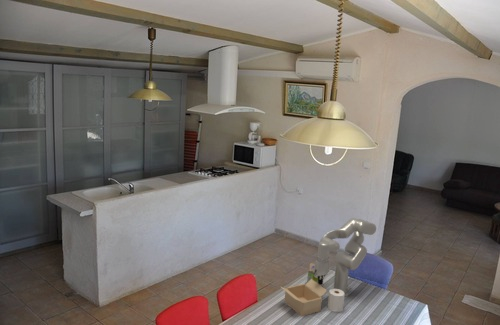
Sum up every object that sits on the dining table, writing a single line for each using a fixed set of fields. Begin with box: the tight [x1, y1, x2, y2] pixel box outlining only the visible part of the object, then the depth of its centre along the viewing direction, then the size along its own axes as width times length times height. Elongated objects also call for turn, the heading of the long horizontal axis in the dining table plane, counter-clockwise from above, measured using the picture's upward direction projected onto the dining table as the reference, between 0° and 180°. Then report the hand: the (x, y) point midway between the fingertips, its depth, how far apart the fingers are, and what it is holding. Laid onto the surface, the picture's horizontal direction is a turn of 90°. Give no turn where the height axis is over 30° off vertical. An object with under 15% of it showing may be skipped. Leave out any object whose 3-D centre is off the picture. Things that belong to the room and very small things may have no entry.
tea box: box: [306, 262, 320, 287], centre depth 304 cm, size 15×10×15 cm
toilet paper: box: [327, 287, 345, 313], centre depth 274 cm, size 10×10×12 cm
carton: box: [284, 283, 323, 317], centre depth 274 cm, size 16×21×10 cm
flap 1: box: [280, 286, 301, 302], centre depth 268 cm, size 6×18×1 cm, turn 30°
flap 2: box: [305, 279, 328, 297], centre depth 278 cm, size 6×18×1 cm
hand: (320, 283), depth 279 cm, fingers closed
